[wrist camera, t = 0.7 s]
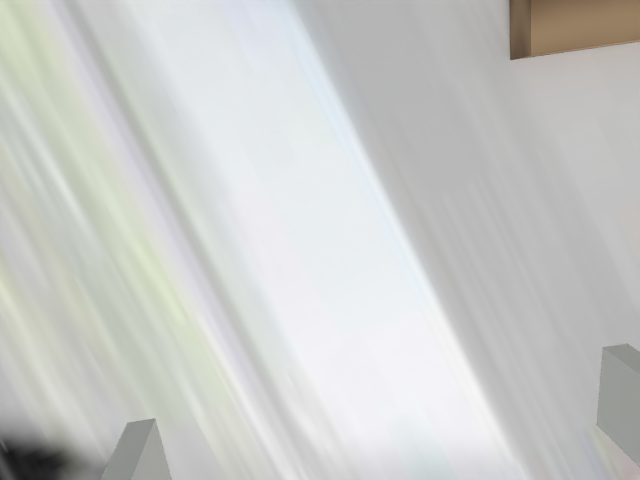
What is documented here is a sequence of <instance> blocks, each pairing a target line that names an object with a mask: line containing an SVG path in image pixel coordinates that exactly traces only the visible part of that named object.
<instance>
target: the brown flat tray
mask: <svg viewBox="0 0 640 480" xmlns="http://www.w3.org/2000/svg"><path fill="white" fill-rule="evenodd" d="M639 41H640V0H510V51H511V60H515V59H522V58H529V57H535V56H542V55H549V54H556V53H563V52H570V51H577V50H584V49H591V48H598V47H604V46H611V45H618V44H625V43H632V42H639Z"/></svg>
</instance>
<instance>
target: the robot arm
mask: <svg viewBox="0 0 640 480" xmlns="http://www.w3.org/2000/svg"><path fill="white" fill-rule="evenodd" d="M596 425H597V426H598V427H599V428H600V429H601V430H602V431H603V432H605V433H606V434H607V435H608V436H609V437H610V438H611V439H612V440H613V441H614V442H615V443H616V444H617V445H618V446H619V447H620V448H621V449H622V450H623V451H624V452H625V453H626V454H627V455H628V456H629V457H630V458H631V459H632V460H633V461H634V462H635V463H636V464H637V465H638V466H639V467H640V352H639V351H637V350H636V349H634V348H633V347H632V346H630V345H629V344H622V345H615V346H609V347H603V349H602V362H601V374H600V387H599V399H598V412H597V424H596ZM101 480H172V478H171V475H170V471H169V467H168V464H167V460H166V456H165V452H164V449H163V445H162V441H161V438H160V434H159V430H158V427H157V423H156V419H149V420H142V421H136V422H130V423H127V425H126V427H125V429H124V431H123V434H122V436H121V438H120V440H119V442H118V444H117V446H116V448H115V450H114V453H113V455H112V457H111V459H110V461H109V463H108V465H107V467H106V469H105V472H104V474H103V476H102V478H101Z"/></svg>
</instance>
